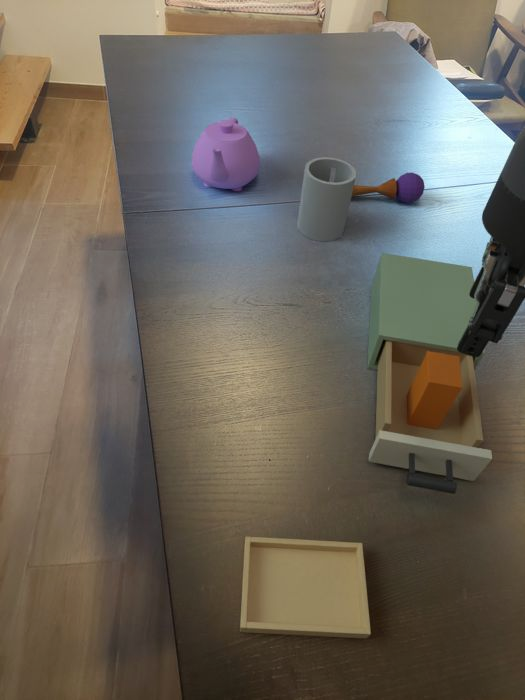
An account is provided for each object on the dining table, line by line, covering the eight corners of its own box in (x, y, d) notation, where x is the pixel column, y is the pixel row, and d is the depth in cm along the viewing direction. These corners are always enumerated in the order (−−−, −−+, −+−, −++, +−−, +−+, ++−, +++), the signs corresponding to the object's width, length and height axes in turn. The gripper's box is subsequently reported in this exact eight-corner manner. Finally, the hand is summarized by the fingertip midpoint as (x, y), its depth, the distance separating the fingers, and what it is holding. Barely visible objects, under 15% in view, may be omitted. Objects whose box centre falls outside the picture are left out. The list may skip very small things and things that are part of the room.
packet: (437, 430, 68) (462, 387, 61) (407, 424, 68) (429, 381, 61) (435, 399, 71) (459, 356, 64) (406, 394, 71) (427, 350, 64)
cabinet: (464, 385, 76) (485, 352, 70) (367, 368, 77) (379, 334, 71) (455, 301, 88) (472, 266, 82) (371, 287, 89) (381, 252, 83)
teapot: (249, 212, 101) (252, 154, 92) (179, 202, 102) (175, 144, 92) (265, 161, 114) (269, 106, 105) (203, 153, 115) (201, 97, 105)
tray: (358, 549, 59) (362, 542, 57) (366, 638, 53) (371, 634, 51) (244, 542, 58) (245, 536, 57) (239, 632, 52) (240, 627, 51)
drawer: (477, 512, 62) (497, 491, 57) (367, 491, 63) (378, 469, 58) (462, 374, 76) (477, 349, 71) (372, 359, 77) (381, 333, 72)
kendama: (325, 172, 105) (421, 167, 106) (324, 200, 109) (416, 195, 109) (330, 182, 100) (430, 178, 101) (328, 211, 104) (425, 206, 105)
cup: (303, 243, 96) (312, 185, 86) (292, 214, 101) (299, 158, 92) (349, 239, 97) (363, 183, 88) (336, 212, 103) (347, 156, 94)
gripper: (604, 246, 35) (503, 387, 47) (600, 152, 43) (516, 292, 56) (493, 215, 36) (423, 359, 48) (510, 131, 45) (448, 271, 57)
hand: (473, 323), depth 52 cm, fingers open, 8 cm apart
